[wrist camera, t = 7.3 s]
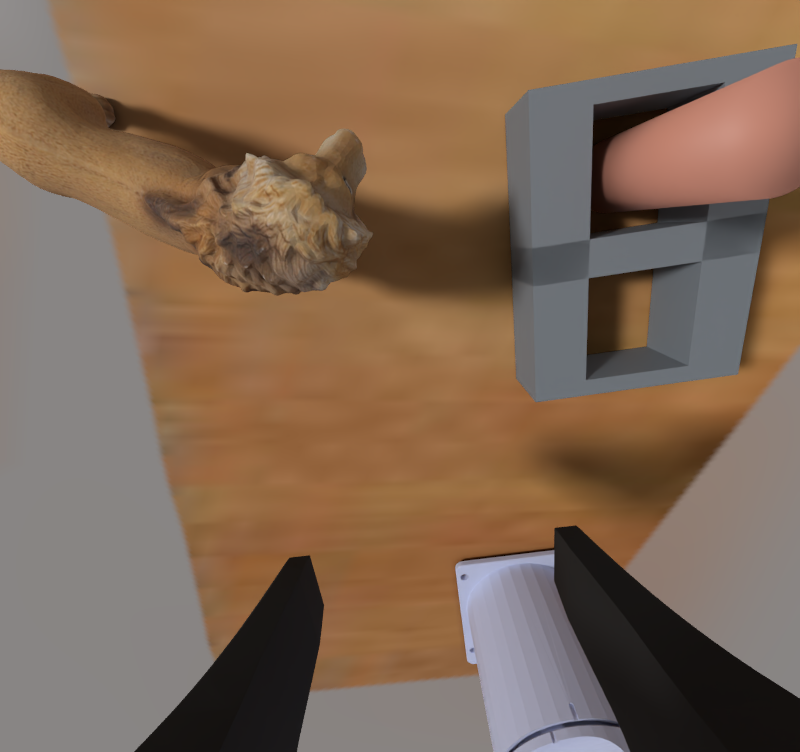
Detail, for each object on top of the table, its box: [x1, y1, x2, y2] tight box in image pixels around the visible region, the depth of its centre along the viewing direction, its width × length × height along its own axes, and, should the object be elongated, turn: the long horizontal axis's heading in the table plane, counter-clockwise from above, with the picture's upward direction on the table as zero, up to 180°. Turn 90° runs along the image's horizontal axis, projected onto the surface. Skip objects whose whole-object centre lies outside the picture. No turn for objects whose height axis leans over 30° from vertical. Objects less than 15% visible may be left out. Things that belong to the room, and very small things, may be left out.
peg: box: [591, 58, 800, 213], centre depth 13 cm, size 3×3×8 cm
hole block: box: [505, 44, 797, 402], centre depth 17 cm, size 12×9×3 cm
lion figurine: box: [0, 70, 373, 296], centre depth 13 cm, size 15×5×9 cm, turn 76°
